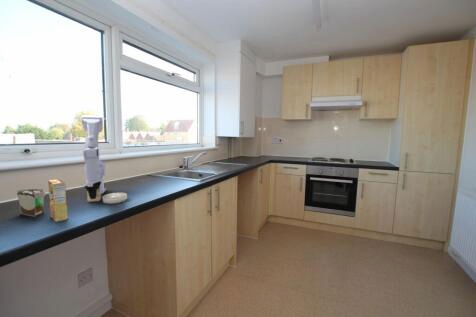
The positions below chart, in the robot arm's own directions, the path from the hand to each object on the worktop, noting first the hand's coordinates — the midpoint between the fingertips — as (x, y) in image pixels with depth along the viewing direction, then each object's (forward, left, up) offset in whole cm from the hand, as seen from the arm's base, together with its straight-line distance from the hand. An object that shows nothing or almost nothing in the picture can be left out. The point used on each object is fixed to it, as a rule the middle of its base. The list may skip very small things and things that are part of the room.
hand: (94, 197), depth 115 cm
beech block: (0, 0, -1) cm, 1 cm away
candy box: (+23, -8, -2) cm, 24 cm away
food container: (+13, -19, -2) cm, 23 cm away
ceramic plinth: (+4, +10, -1) cm, 11 cm away
